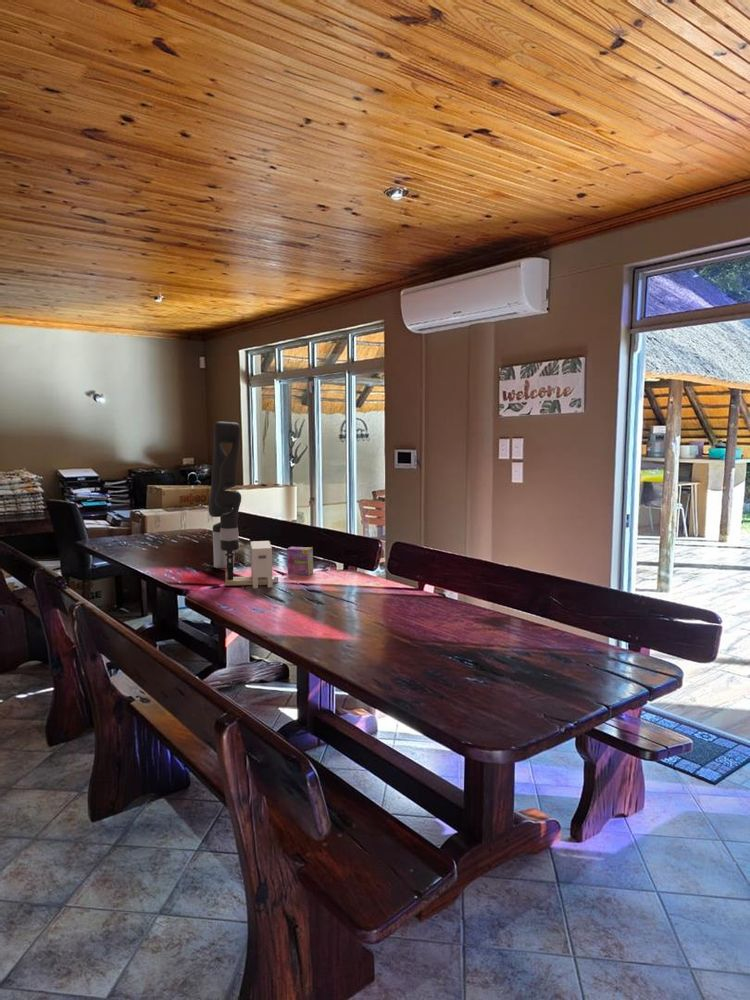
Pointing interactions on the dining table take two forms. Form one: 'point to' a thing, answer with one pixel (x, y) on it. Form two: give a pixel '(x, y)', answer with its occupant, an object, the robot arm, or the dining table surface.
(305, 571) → the box
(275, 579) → the puck
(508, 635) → the dining table surface
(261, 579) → the stepped wooden block
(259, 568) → the notched block
